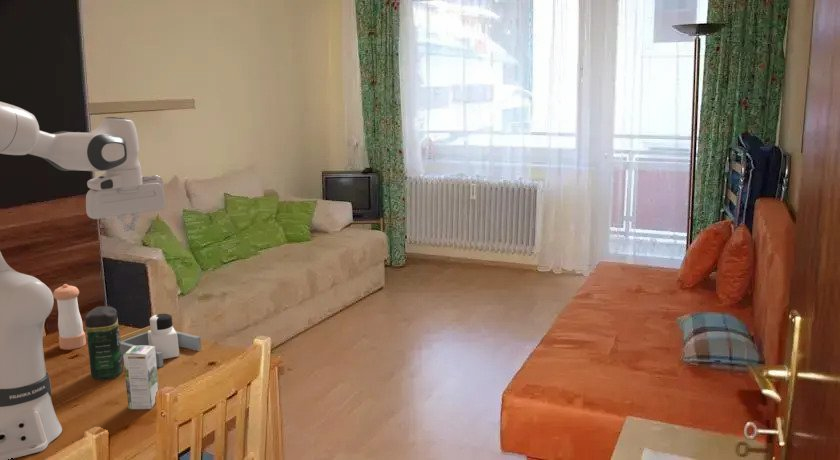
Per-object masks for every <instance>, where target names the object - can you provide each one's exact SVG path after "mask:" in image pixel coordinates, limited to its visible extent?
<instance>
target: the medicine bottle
mask: <svg viewBox="0 0 840 460" xmlns="http://www.w3.org/2000/svg"><path fill="white" fill-rule="evenodd" d="M149 323H150V324H149V326H150V328H151V330H149V331H148V341H149V345H148V346H154V347H155V351H158V352H162V356H163V360H166V359H172V358H177V357H179V356H180V349H179V348H180V346H178V337H177V333H176V331H177V330H176V329H175V328H174V325H173V316H172V315H171V314H168V313H157V314H154V315H152V316H150V318H149Z"/></svg>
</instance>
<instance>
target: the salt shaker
mask: <svg viewBox="0 0 840 460" xmlns="http://www.w3.org/2000/svg"><path fill="white" fill-rule="evenodd" d="M52 294H53V298H54V300H56V303H57V312H58V317H57V320H58V321H57V329H58V334H59V335H58V336H57V337H58V344H59V348H60V349H61V350H66V351H67V350H68V351H69V350H75V349H79V348H82V347H84V346H86V344H87V339H86V338H87V337H86V333H85V332H86V331H84V325H83V320H82V316H81V313H80V309H79V304H78V302H79V301H78V296H79V294H80V290H79V288H78V287H77V286H74V285H69V284H67V283H64V284H63V285H62V286H59V287H58V288H55V289H54V291H53V292H52Z"/></svg>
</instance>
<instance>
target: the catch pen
mask: <svg viewBox="0 0 840 460" xmlns="http://www.w3.org/2000/svg"><path fill="white" fill-rule="evenodd" d="M149 330H151V328H150V325H148V326H146V327H143V328H140V329H138V330H134V331H132V332H129V333H127V334H123V335H121V336H120V345H121V354H122V358H123V355H124V354H125V353H126V352H127V351H128V350H129V349H130V348H132V347H133V346H139V345H146V346H149V341H148V331H149ZM175 331H176V333H177V337H178V347H182V348H186V349H188V350H193V351H196V350H200V349H201V350H202V343H201V342H202V339H201V336H199V335H193V334H190V333H186V332H182V331H177V330H175ZM201 350H200V351H201ZM155 353H156V364H157V368H163V367H164V359H163V356H162V352H158V351H155Z"/></svg>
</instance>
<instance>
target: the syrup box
mask: <svg viewBox="0 0 840 460" xmlns="http://www.w3.org/2000/svg"><path fill="white" fill-rule="evenodd" d="M122 359H123V369H124V376H125V387H126V397H127V409H128V410H152V408H154V406H155V405H156V404H155V396H156V392H157V391H158V390H159V389H160V388H159V387H160V386H159V377H158V375H159V374H158V367H157V364H156V353H155V347H154V346H149V345H148V346H146V345H139V346H133V347H132V348H130V349H129V350H128V351H127V352H126V353H125V354H124V355H123V357H122ZM159 391H160V390H159Z"/></svg>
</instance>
